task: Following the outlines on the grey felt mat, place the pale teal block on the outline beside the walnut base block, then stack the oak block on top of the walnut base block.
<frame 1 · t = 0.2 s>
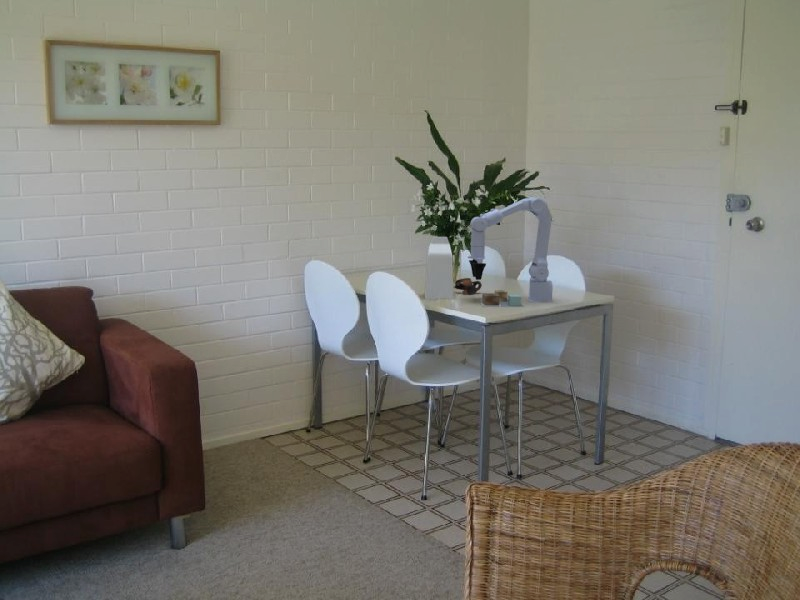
hand: (476, 278, 374), 10 cm above the table, tool pointing down, fingers open, 7 cm apart
oak block: (500, 300, 376), resting on blueprint mat
teal block: (514, 305, 366), resting on blueprint mat
blueprint mat: (499, 304, 371), on the table
walnut base: (490, 304, 367), resting on blueprint mat
milk: (438, 297, 385), on the table
pottery mug: (467, 294, 394), on the table
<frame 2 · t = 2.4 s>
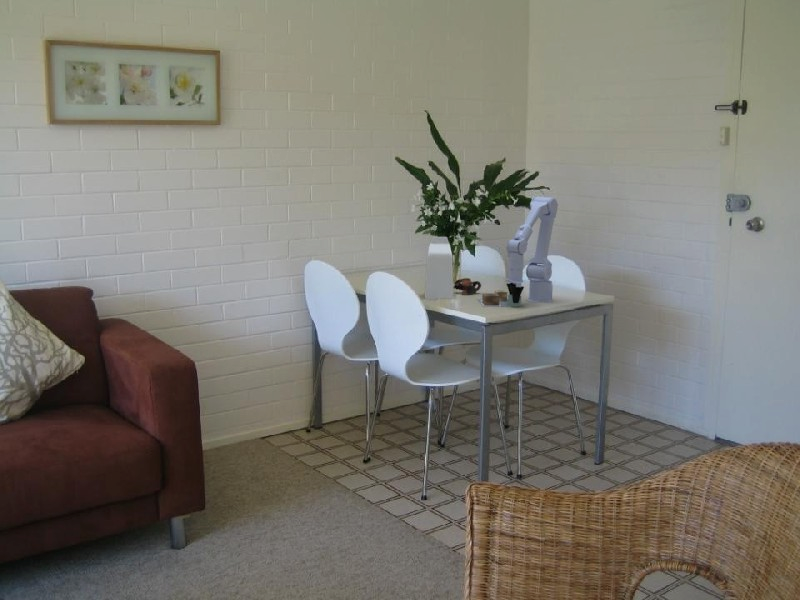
hand: (514, 301, 366), 2 cm above the table, tool pointing down, fingers closed on teal block, 4 cm apart
teal block: (514, 305, 366), resting on blueprint mat, touching gripper
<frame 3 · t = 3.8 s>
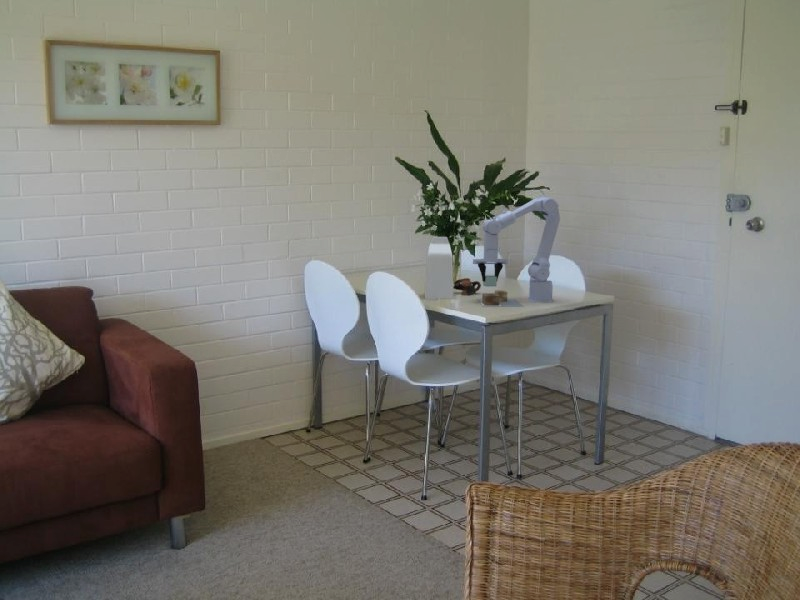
hand: (489, 281, 372), 9 cm above the table, tool pointing down, fingers closed on teal block, 4 cm apart
teal block: (489, 285, 373), point 7 cm above the table, touching gripper
when the fingers open (3 cm above the table, at t = 5.5 s): teal block stays where it is, resting on blueprint mat.
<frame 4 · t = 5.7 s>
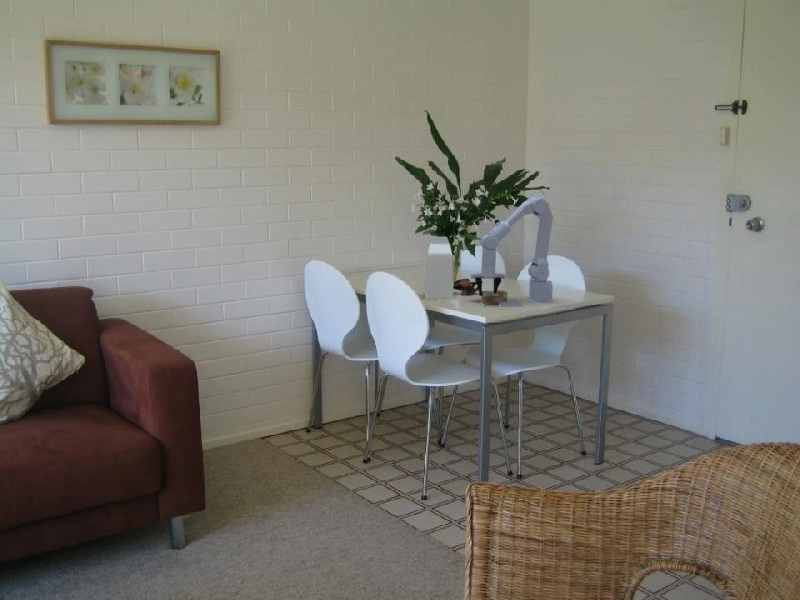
hand: (487, 295, 374), 3 cm above the table, tool pointing down, fingers open, 5 cm apart
oak block: (500, 300, 376), resting on blueprint mat, touching gripper
teal block: (487, 301, 374), resting on blueprint mat
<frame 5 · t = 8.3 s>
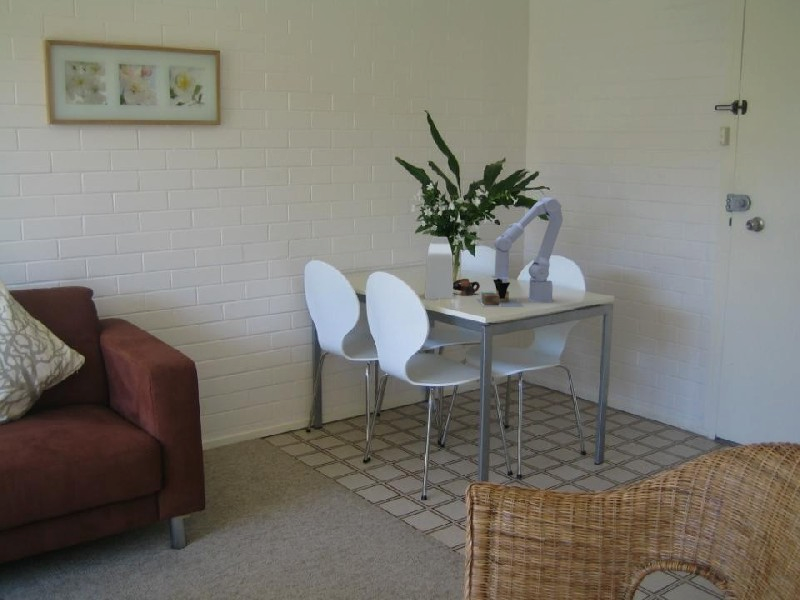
hand: (500, 297, 376), 2 cm above the table, tool pointing down, fingers closed on oak block, 4 cm apart
oak block: (502, 300, 377), resting on blueprint mat, touching gripper
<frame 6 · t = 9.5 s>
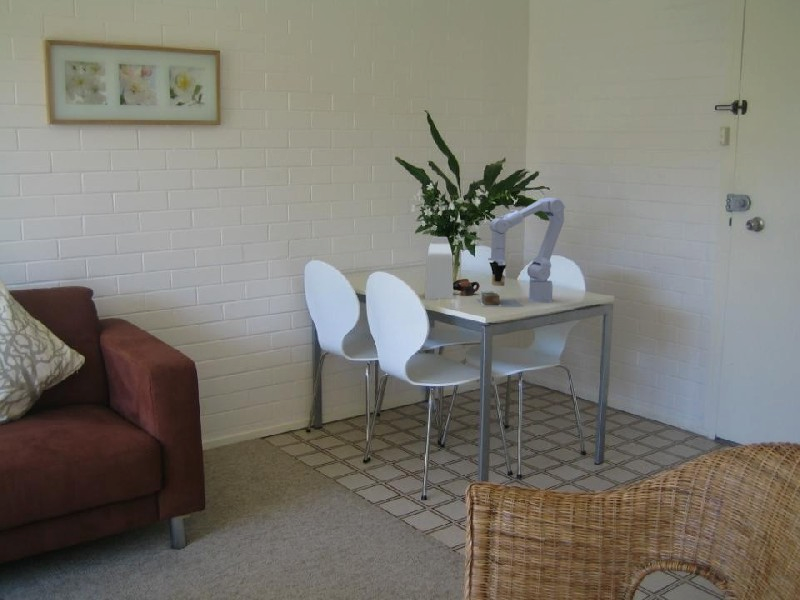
hand: (497, 280, 371), 10 cm above the table, tool pointing down, fingers closed on oak block, 4 cm apart
oak block: (497, 284, 371), point 8 cm above the table, touching gripper
when the fingers open (7 cm above the table, at t = 11.0 s): oak block stays where it is, resting on walnut base.
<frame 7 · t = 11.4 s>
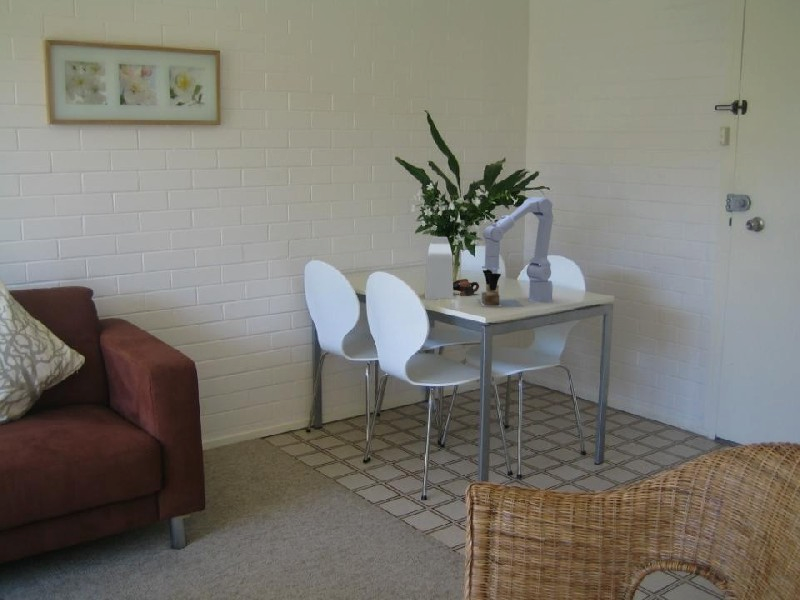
hand: (491, 288, 366), 7 cm above the table, tool pointing down, fingers open, 7 cm apart
oak block: (492, 294, 366), point 4 cm above the table, touching walnut base
walnut base: (490, 304, 367), resting on blueprint mat, touching oak block
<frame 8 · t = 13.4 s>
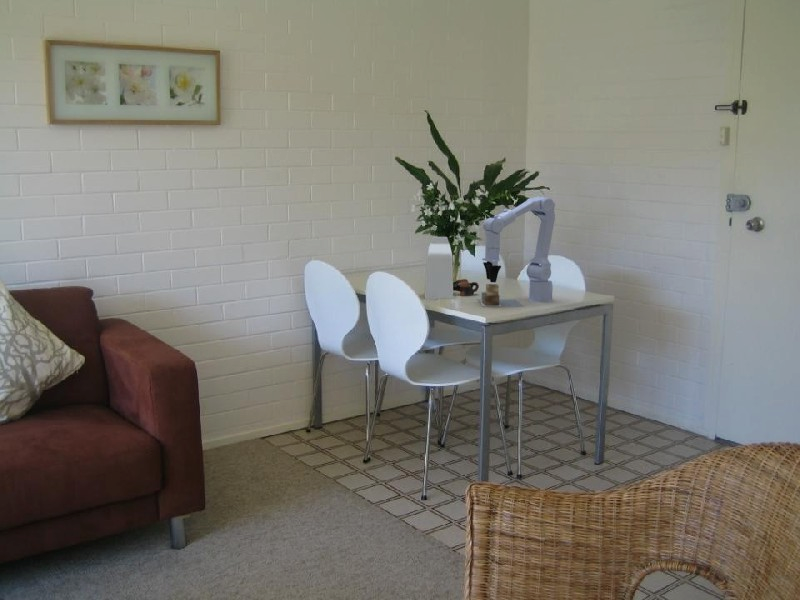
hand: (491, 280, 365), 10 cm above the table, tool pointing down, fingers open, 7 cm apart
at the end: oak block 0.5 cm off-centre on the walnut base, point 4.0 cm above the walnut base's base; oak block tilted 0°; teal block 0.2 cm from the target spot, resting on blueprint mat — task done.
